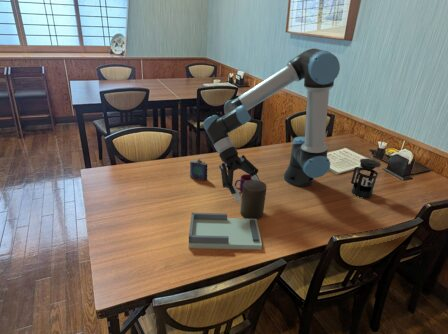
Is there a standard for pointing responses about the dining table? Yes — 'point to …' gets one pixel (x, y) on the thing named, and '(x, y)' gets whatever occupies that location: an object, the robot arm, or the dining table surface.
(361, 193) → the french press
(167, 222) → the dining table surface
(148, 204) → the dining table surface
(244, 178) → the mug
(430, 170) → the dining table surface
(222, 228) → the deck plate
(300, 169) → the robot arm
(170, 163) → the dining table surface
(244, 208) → the pillar candle
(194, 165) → the flask
